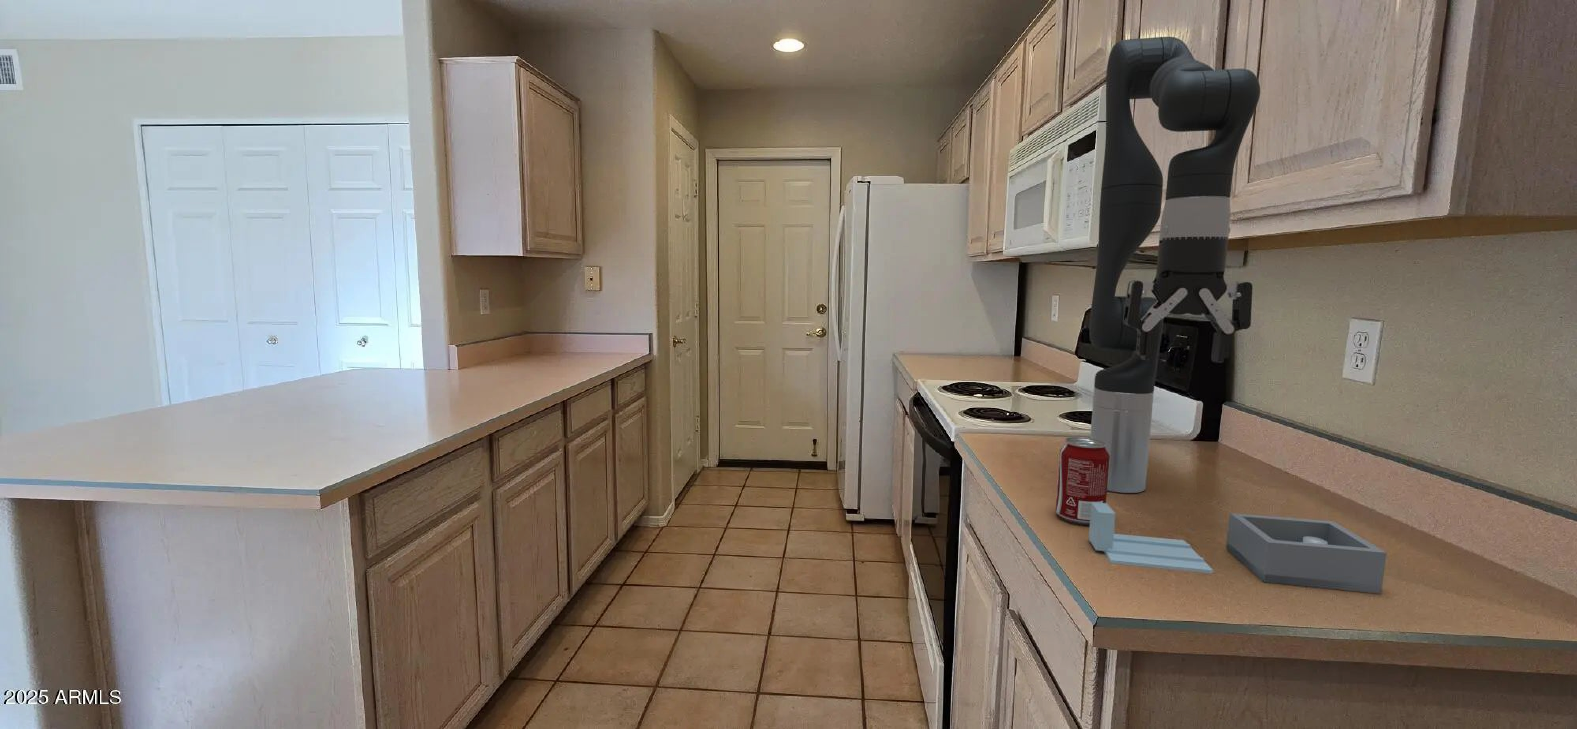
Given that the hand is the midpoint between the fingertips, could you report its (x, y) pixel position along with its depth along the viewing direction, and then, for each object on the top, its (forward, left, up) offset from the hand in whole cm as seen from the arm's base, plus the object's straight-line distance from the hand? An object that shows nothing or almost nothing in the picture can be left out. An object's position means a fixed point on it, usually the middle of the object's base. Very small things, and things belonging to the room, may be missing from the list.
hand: (1180, 360), depth 84 cm
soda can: (-7, -9, -26) cm, 28 cm away
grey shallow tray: (+5, +14, -25) cm, 29 cm away
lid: (+4, -3, -26) cm, 26 cm away
